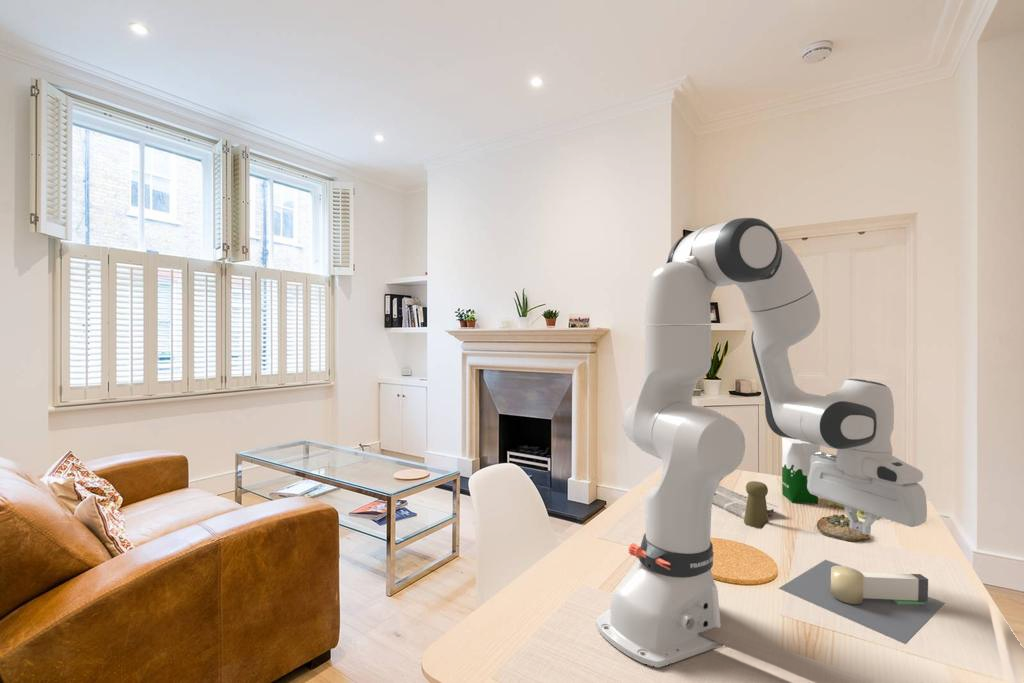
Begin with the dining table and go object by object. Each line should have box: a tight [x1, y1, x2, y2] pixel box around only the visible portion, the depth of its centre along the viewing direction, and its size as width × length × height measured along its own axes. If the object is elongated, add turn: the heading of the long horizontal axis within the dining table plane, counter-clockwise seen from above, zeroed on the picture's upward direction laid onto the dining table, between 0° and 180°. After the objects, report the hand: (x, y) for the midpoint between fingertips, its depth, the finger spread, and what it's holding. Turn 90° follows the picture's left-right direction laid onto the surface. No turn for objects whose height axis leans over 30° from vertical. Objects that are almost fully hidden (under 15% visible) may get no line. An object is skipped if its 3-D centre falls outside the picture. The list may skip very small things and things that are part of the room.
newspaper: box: [712, 483, 780, 520], centre depth 148 cm, size 35×12×4 cm, turn 19°
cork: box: [743, 480, 770, 529], centre depth 128 cm, size 6×6×11 cm
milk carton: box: [781, 436, 821, 505], centre depth 146 cm, size 9×9×20 cm
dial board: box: [778, 559, 946, 645], centre depth 92 cm, size 20×20×2 cm
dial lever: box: [831, 565, 929, 604], centre depth 90 cm, size 16×5×5 cm, turn 85°
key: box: [826, 500, 881, 520], centre depth 136 cm, size 7×12×2 cm, turn 51°
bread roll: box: [816, 513, 870, 542], centre depth 123 cm, size 11×11×5 cm
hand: (859, 531), depth 96 cm, fingers closed
